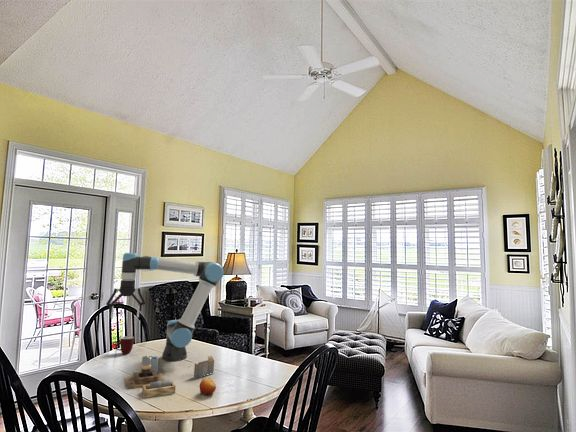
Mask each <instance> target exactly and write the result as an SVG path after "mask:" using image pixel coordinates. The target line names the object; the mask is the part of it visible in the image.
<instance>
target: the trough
mask: <svg viewBox="0 0 576 432" xmlns="http://www.w3.org/2000/svg"><path fill="white" fill-rule="evenodd" d="M164 380H165V381H157V382H150V384H148V385H143V387H141V388H142V389H141V393H142V396H143V398H151V397H158V396H165V395H172V394H176V384H175V383H174V381H173V380H172V381H171V380H170V379H164Z"/></svg>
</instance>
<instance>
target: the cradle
mask: <svg viewBox="0 0 576 432" xmlns="http://www.w3.org/2000/svg"><path fill="white" fill-rule="evenodd" d="M132 375H133V376H127V377H124V381H125V385H126V390H132V389H137V388H143V385H148V384H150V382H157V381H165V380H166V379H165V378H164V376H163V374H162V372H159V373H158V372H156V371H155V370H152V371H151V373H150V376H148V377H141V371H136V372H133V374H132Z"/></svg>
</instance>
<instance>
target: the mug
mask: <svg viewBox="0 0 576 432" xmlns="http://www.w3.org/2000/svg"><path fill="white" fill-rule="evenodd" d="M134 343H135V336H131V335H127V336H126V335H125V336H121V337H120V340H119V342H117V343H116V344H115V350H116V351H121V353H122V355H129V354H130V353H131V351H132V349H133V345H134ZM119 345H120V348H118V346H119Z"/></svg>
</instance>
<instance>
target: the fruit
mask: <svg viewBox="0 0 576 432" xmlns="http://www.w3.org/2000/svg"><path fill="white" fill-rule="evenodd" d="M216 385H217V384H216V382H215V381H214V380H213V379H212V378H205V377H204V378H203V379H202V380H201V381H200V384H199V392H200V394H199V396H201V395H205V396H211V395H213V393H215V391H216V389H217V386H216Z"/></svg>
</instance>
